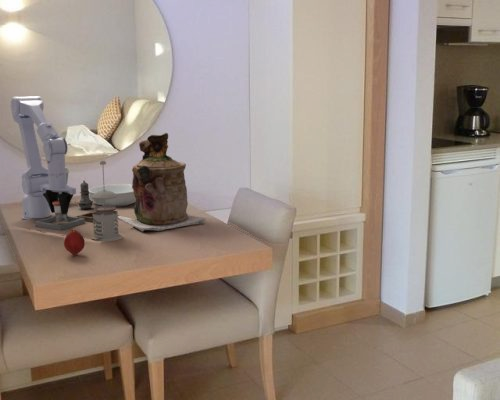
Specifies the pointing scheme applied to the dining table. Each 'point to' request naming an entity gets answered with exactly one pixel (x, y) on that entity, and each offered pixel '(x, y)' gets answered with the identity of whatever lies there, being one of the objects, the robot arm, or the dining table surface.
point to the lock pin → (59, 211)
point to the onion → (74, 242)
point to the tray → (47, 224)
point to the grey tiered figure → (84, 197)
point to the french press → (105, 216)
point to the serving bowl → (122, 191)
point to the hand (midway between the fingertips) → (59, 213)
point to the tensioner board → (88, 216)
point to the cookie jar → (159, 189)
